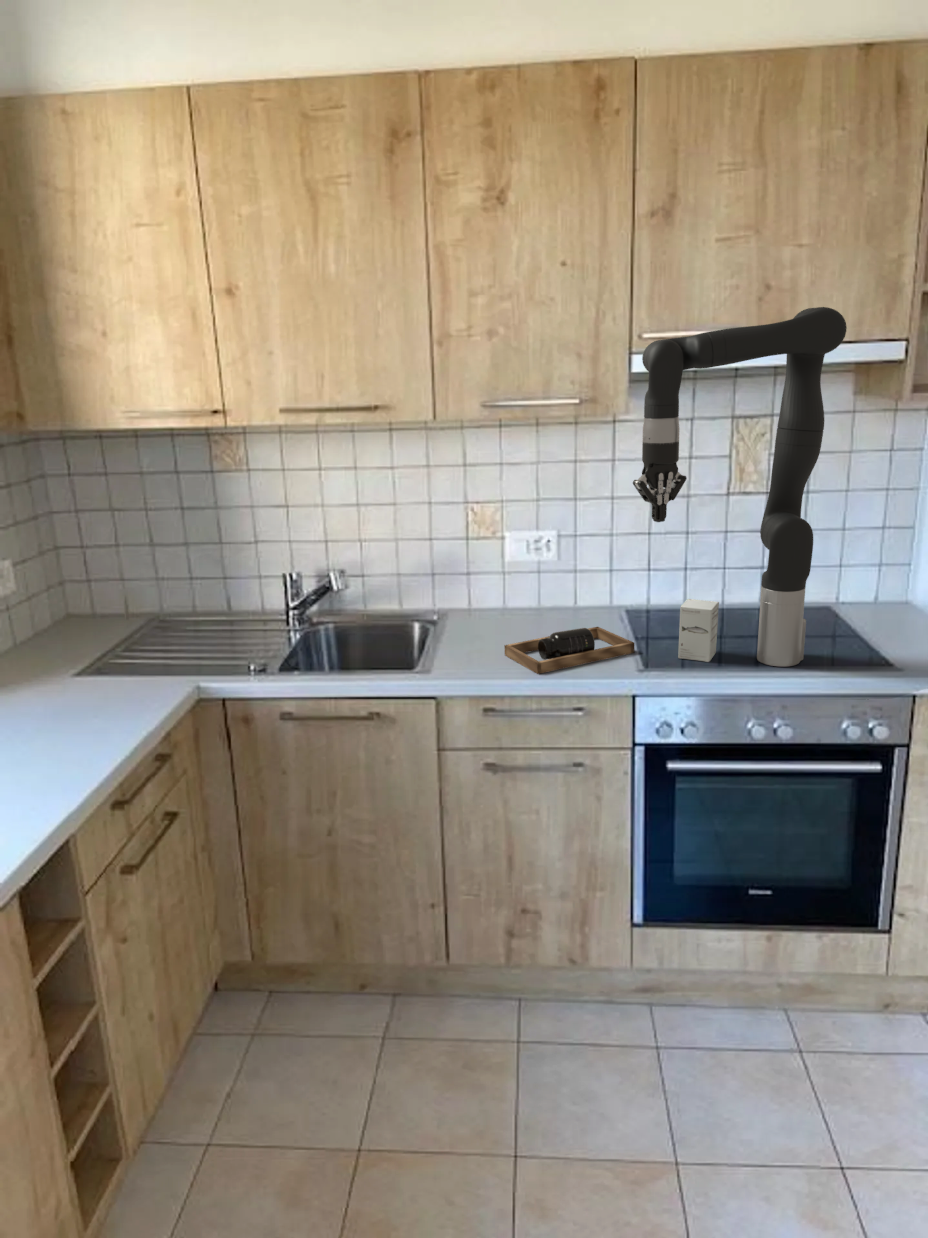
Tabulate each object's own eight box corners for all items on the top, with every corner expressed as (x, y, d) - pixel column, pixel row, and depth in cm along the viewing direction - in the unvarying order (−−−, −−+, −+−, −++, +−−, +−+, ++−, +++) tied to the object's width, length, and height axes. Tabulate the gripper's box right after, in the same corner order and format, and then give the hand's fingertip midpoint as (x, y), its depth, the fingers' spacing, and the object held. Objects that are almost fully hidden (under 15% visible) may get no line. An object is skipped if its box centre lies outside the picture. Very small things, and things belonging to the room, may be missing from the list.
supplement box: (677, 659, 206) (678, 606, 203) (685, 649, 213) (687, 597, 209) (709, 663, 203) (712, 609, 199) (717, 653, 209) (719, 600, 206)
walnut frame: (597, 636, 224) (597, 626, 224) (634, 652, 212) (634, 642, 211) (504, 655, 213) (504, 645, 213) (537, 674, 200) (537, 663, 200)
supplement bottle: (584, 656, 213) (538, 664, 209) (580, 628, 213) (533, 635, 209) (597, 656, 207) (550, 663, 203) (593, 626, 207) (545, 633, 203)
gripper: (646, 443, 182) (644, 527, 187) (697, 438, 188) (694, 520, 193) (624, 440, 189) (623, 522, 194) (674, 435, 194) (672, 515, 199)
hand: (659, 521), depth 193 cm, fingers closed
